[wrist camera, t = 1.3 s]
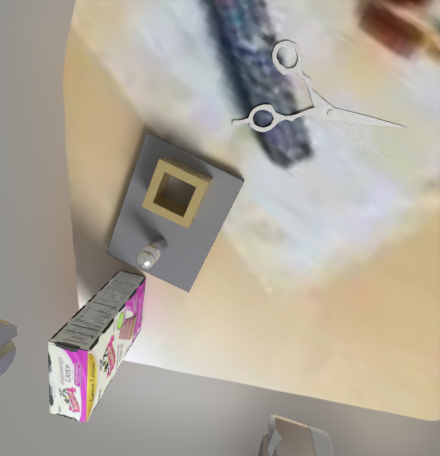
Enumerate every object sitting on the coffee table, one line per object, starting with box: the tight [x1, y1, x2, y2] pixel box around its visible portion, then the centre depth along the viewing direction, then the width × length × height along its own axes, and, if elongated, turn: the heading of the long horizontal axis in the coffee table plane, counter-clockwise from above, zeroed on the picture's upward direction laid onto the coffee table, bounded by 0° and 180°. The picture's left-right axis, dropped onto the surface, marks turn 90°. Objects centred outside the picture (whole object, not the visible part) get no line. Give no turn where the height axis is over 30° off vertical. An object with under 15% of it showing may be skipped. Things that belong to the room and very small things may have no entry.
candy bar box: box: [48, 271, 146, 422], centre depth 37 cm, size 11×5×16 cm, turn 169°
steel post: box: [136, 236, 168, 269], centre depth 36 cm, size 2×2×6 cm
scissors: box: [232, 41, 407, 160], centre depth 32 cm, size 11×1×20 cm
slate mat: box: [107, 134, 244, 292], centre depth 38 cm, size 19×14×2 cm
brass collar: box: [142, 157, 213, 229], centre depth 34 cm, size 6×6×4 cm
